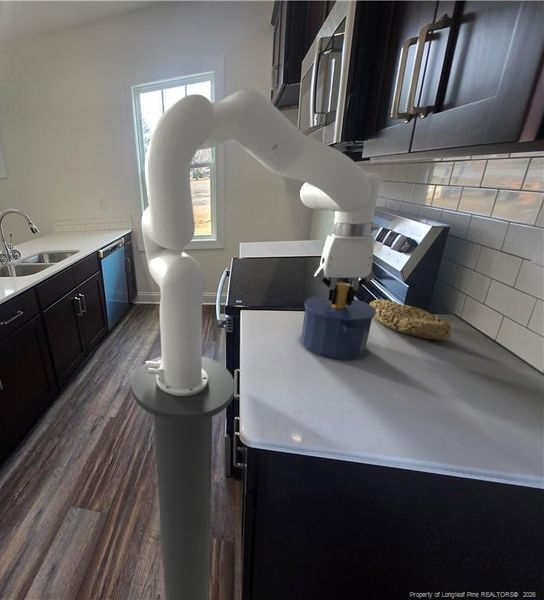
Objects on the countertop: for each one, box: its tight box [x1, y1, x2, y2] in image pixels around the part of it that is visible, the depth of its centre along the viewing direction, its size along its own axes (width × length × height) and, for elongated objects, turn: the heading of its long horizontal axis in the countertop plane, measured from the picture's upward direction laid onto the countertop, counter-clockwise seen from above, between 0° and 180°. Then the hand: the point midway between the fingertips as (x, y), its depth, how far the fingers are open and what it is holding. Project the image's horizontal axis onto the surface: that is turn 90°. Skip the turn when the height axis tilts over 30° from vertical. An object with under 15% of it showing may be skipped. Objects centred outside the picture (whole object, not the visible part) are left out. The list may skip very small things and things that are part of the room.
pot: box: [300, 307, 373, 361], centre depth 83 cm, size 15×20×10 cm
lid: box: [303, 281, 376, 321], centre depth 80 cm, size 16×16×7 cm
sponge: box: [368, 298, 452, 341], centre depth 89 cm, size 13×8×20 cm
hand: (339, 302), depth 80 cm, fingers closed on lid, 3 cm apart
